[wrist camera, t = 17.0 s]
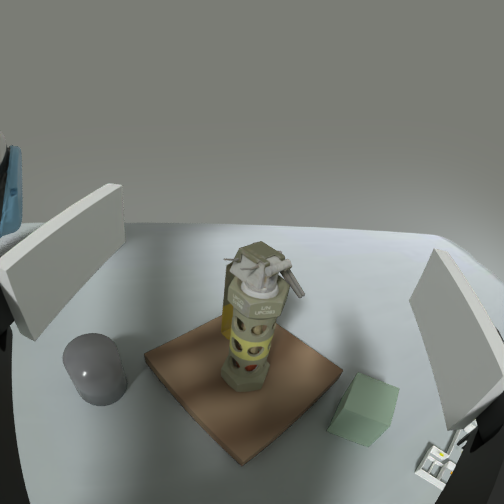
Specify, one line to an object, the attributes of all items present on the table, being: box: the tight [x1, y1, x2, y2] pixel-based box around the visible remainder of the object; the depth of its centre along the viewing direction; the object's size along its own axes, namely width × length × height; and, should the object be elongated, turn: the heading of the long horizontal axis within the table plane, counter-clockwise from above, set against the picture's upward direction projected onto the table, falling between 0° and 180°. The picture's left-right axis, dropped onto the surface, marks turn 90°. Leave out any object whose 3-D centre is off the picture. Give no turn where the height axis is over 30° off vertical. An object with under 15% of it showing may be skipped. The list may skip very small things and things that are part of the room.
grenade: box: [221, 241, 305, 392], centre depth 27 cm, size 7×7×15 cm
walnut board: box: [144, 315, 343, 466], centre depth 31 cm, size 16×16×2 cm
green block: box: [327, 372, 399, 447], centre depth 26 cm, size 5×5×5 cm
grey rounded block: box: [63, 333, 127, 406], centre depth 26 cm, size 6×6×5 cm
